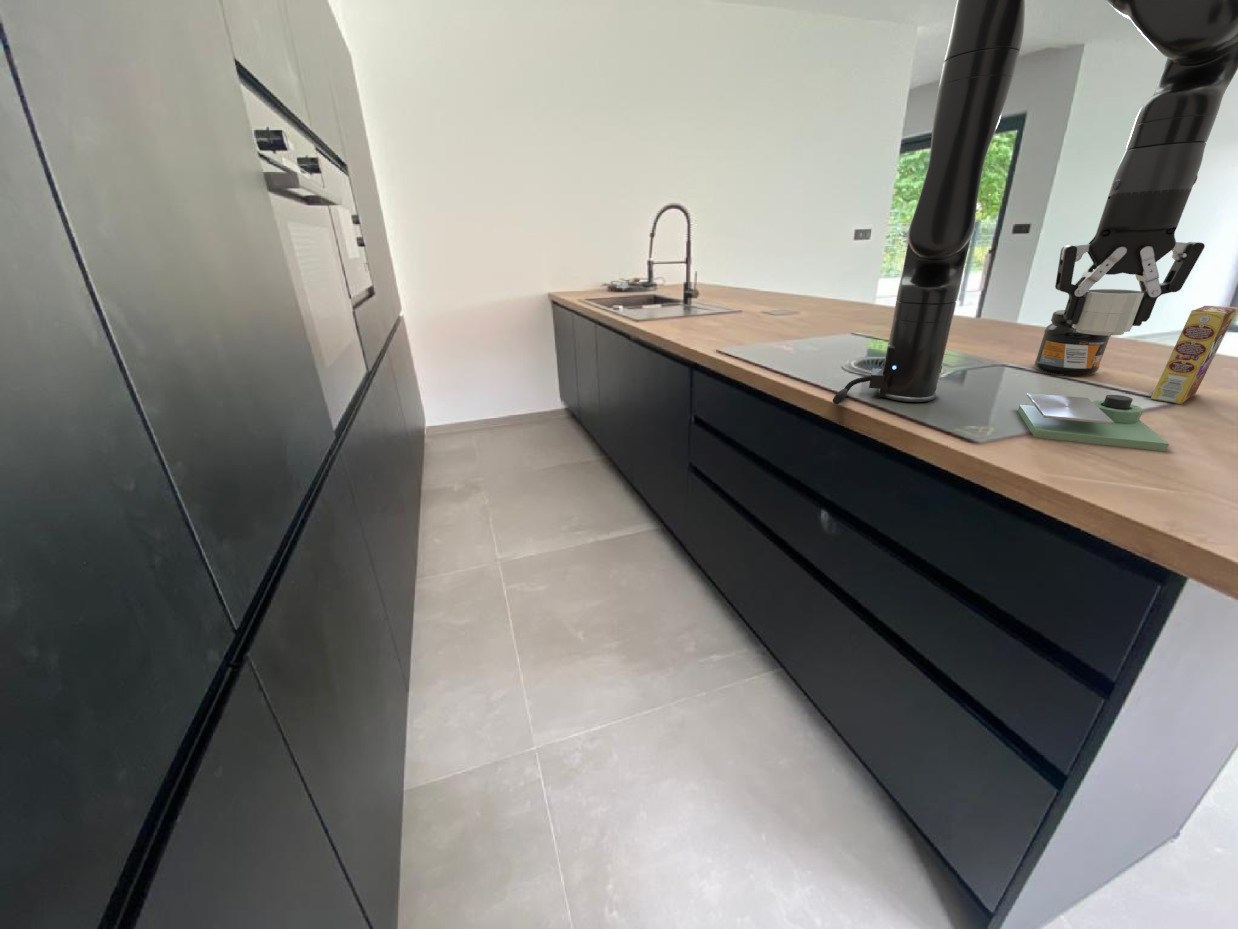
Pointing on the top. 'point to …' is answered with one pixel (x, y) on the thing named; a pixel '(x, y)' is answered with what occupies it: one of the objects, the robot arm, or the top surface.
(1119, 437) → the scale
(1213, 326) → the candy box
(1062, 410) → the scale pan
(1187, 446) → the top surface
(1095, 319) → the white cup
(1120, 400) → the tare button
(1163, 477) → the top surface
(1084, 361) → the supplement container
